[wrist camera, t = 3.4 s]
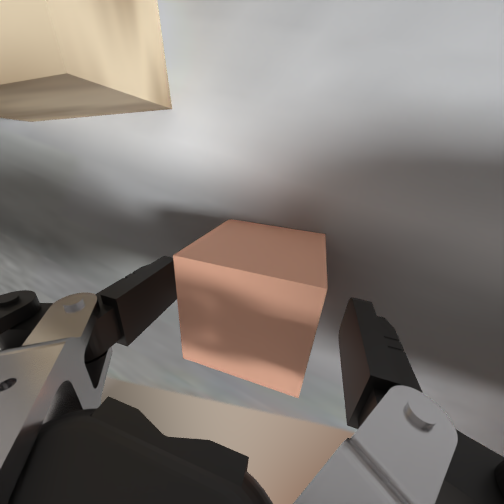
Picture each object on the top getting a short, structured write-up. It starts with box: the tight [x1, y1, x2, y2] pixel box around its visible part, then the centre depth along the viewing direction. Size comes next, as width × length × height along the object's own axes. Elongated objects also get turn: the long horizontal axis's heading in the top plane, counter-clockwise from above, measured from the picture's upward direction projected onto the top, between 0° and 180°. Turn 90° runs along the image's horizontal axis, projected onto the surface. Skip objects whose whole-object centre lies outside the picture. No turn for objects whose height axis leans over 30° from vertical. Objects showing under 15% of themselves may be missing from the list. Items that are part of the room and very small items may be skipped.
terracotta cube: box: [173, 219, 327, 398], centre depth 10 cm, size 5×5×5 cm
